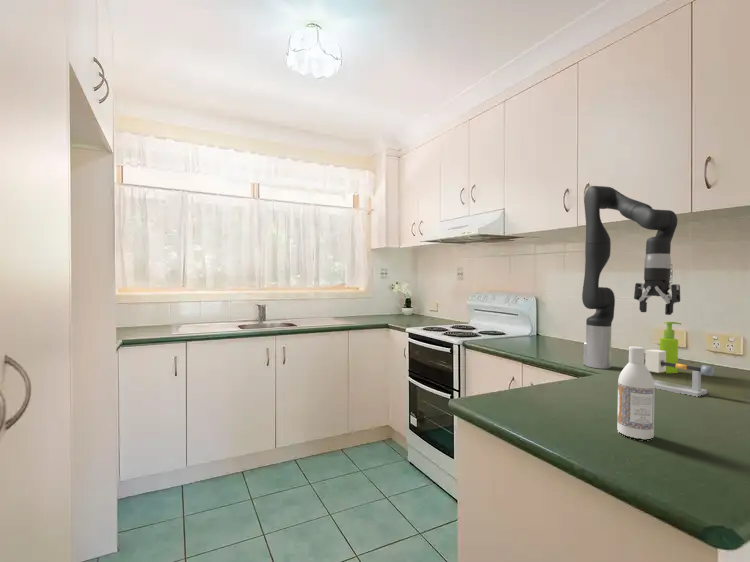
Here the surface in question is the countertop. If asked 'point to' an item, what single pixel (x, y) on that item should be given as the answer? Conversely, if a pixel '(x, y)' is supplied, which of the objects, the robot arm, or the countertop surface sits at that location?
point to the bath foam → (636, 397)
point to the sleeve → (655, 360)
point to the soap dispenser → (670, 347)
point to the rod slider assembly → (696, 380)
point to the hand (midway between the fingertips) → (655, 313)
